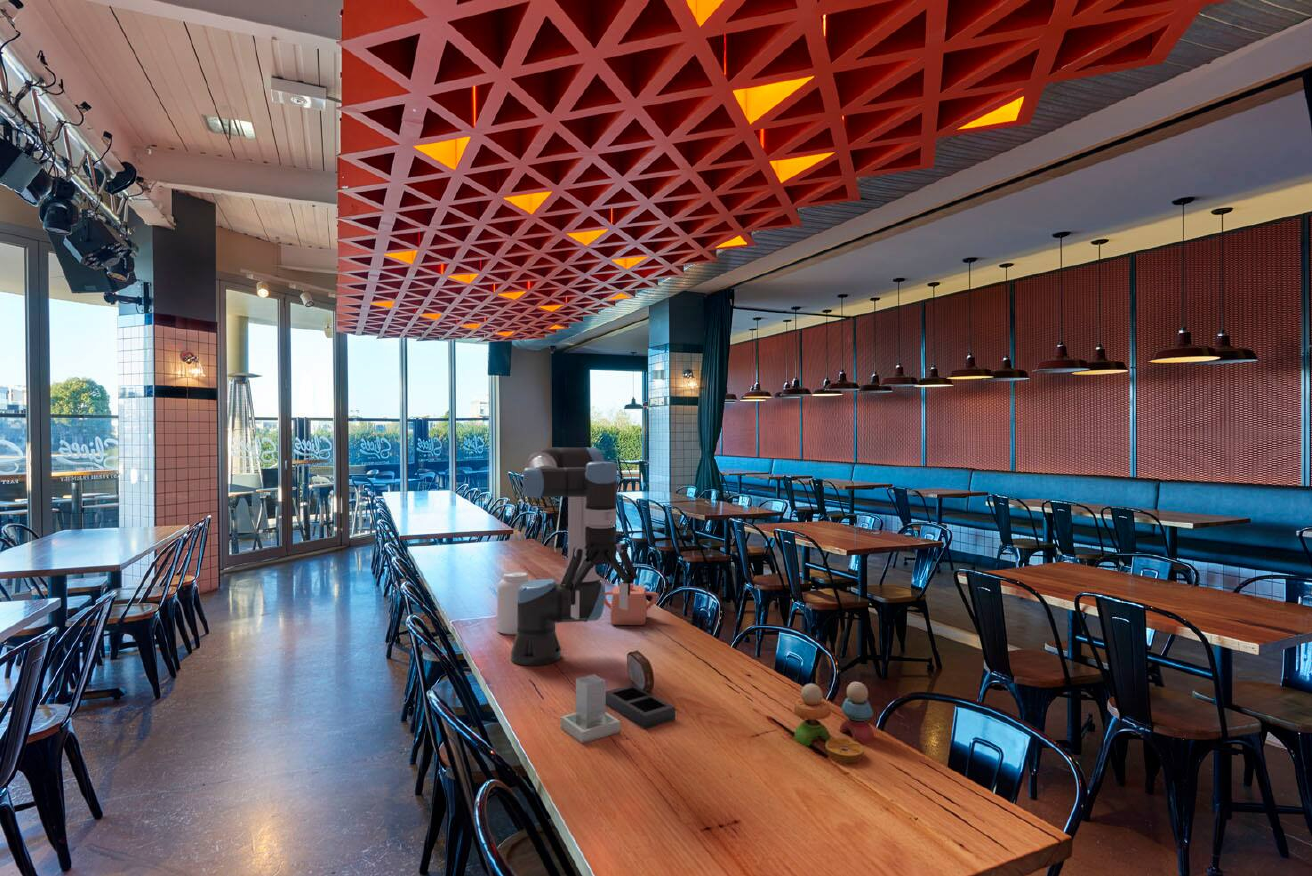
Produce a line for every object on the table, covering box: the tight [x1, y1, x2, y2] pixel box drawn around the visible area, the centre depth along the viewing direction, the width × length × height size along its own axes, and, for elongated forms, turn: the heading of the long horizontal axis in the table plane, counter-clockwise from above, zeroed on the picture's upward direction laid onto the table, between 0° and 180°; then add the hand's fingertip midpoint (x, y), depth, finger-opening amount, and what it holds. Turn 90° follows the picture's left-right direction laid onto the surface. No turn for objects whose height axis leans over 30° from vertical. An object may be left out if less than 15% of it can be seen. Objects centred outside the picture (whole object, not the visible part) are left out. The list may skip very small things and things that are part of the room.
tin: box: [626, 649, 655, 692], centre depth 179 cm, size 15×3×8 cm, turn 22°
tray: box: [560, 711, 621, 744], centre depth 151 cm, size 10×10×2 cm
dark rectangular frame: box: [606, 683, 676, 730], centre depth 162 cm, size 18×9×3 cm, turn 36°
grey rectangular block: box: [575, 673, 607, 730], centre depth 151 cm, size 5×5×11 cm
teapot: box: [604, 583, 659, 626], centre depth 246 cm, size 20×22×14 cm
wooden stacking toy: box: [793, 681, 875, 765], centre depth 146 cm, size 18×17×12 cm
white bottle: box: [496, 571, 532, 636], centre depth 230 cm, size 12×12×20 cm
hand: (599, 613), depth 158 cm, fingers open, 13 cm apart
